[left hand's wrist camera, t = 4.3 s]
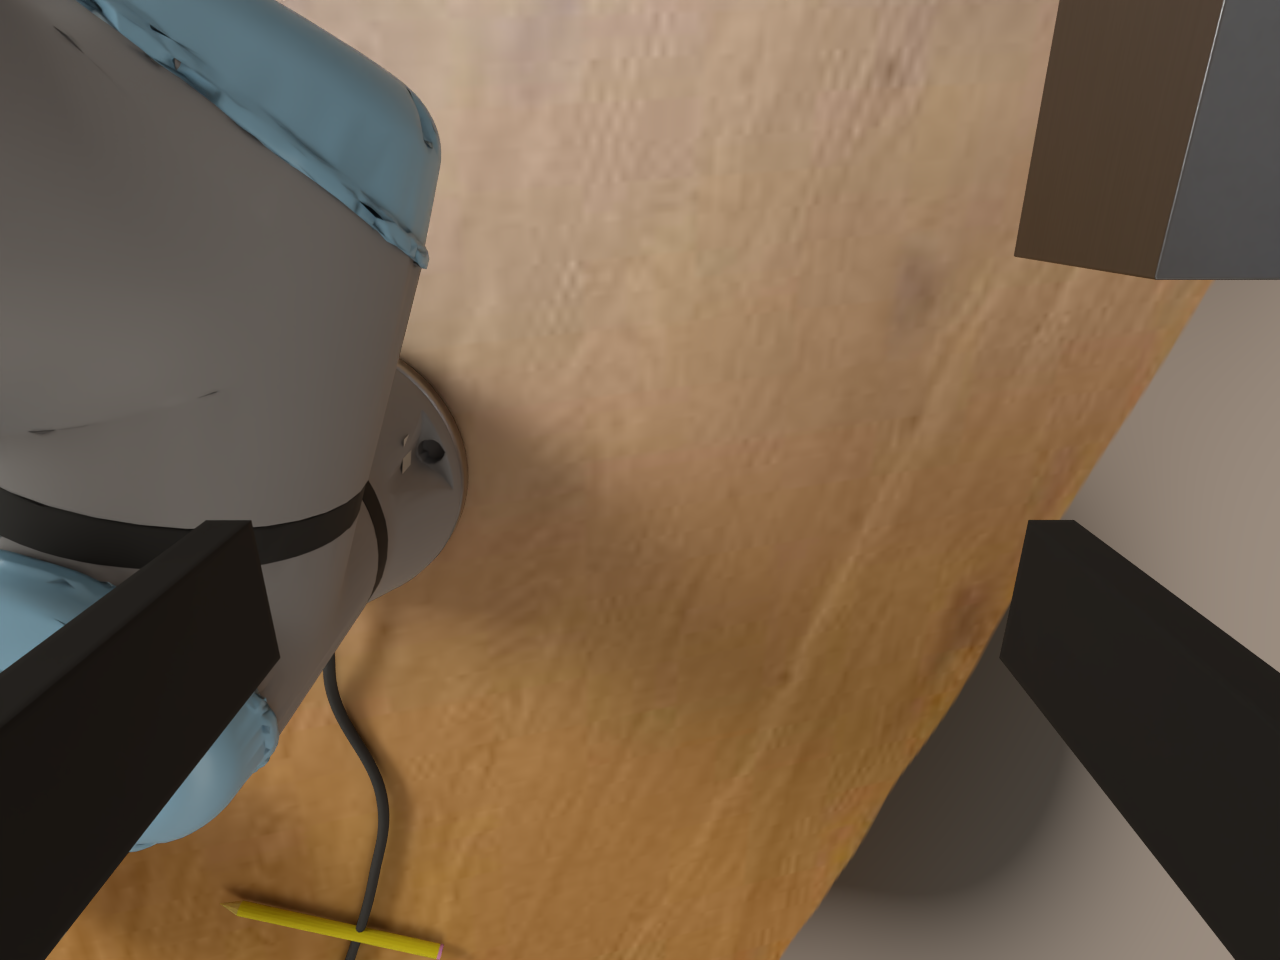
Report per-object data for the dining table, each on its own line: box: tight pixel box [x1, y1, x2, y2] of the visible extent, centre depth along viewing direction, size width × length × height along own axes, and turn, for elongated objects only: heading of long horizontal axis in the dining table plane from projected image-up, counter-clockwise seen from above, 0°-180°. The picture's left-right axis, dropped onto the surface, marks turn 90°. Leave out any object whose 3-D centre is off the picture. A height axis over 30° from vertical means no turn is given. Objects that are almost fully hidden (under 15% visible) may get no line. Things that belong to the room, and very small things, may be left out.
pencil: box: [221, 901, 444, 960], centre depth 54 cm, size 16×1×1 cm, turn 72°
